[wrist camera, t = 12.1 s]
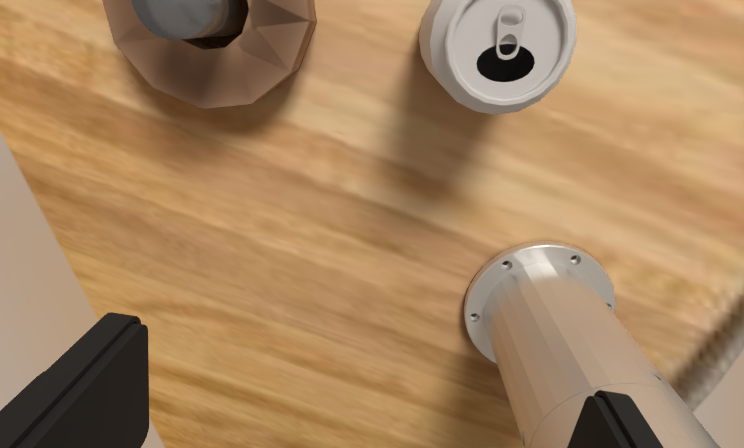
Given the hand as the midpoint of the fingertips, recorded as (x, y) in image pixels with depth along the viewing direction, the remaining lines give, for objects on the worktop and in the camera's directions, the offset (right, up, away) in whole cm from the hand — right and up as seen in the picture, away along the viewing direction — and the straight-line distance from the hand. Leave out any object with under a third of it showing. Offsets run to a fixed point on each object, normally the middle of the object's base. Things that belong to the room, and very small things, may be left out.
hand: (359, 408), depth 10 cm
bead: (-10, +19, +24) cm, 33 cm away
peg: (-10, +19, +24) cm, 33 cm away
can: (+7, +17, +25) cm, 31 cm away
